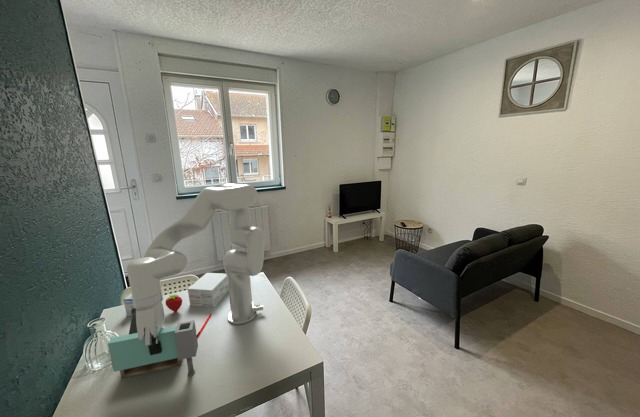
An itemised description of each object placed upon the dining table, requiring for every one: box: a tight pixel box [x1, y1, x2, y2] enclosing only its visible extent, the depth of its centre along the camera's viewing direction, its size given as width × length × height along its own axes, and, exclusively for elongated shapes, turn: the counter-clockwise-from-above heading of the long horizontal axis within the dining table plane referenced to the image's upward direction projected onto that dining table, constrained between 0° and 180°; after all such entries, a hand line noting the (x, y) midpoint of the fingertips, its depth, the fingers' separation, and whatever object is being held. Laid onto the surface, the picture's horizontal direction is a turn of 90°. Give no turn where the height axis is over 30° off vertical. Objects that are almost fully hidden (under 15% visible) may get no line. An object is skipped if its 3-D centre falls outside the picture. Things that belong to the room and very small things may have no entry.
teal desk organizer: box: [107, 319, 199, 373], centre depth 82 cm, size 23×5×10 cm, turn 107°
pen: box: [196, 313, 212, 340], centre depth 110 cm, size 1×19×1 cm, turn 2°
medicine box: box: [123, 293, 134, 317], centre depth 122 cm, size 8×4×9 cm, turn 5°
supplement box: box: [187, 272, 229, 308], centre depth 133 cm, size 17×13×9 cm
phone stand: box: [128, 308, 138, 335], centre depth 105 cm, size 9×6×12 cm, turn 158°
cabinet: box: [119, 357, 196, 379], centre depth 89 cm, size 23×13×9 cm, turn 107°
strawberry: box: [165, 293, 183, 313], centre depth 120 cm, size 6×8×10 cm
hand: (157, 349), depth 83 cm, fingers closed on teal desk organizer, 2 cm apart
